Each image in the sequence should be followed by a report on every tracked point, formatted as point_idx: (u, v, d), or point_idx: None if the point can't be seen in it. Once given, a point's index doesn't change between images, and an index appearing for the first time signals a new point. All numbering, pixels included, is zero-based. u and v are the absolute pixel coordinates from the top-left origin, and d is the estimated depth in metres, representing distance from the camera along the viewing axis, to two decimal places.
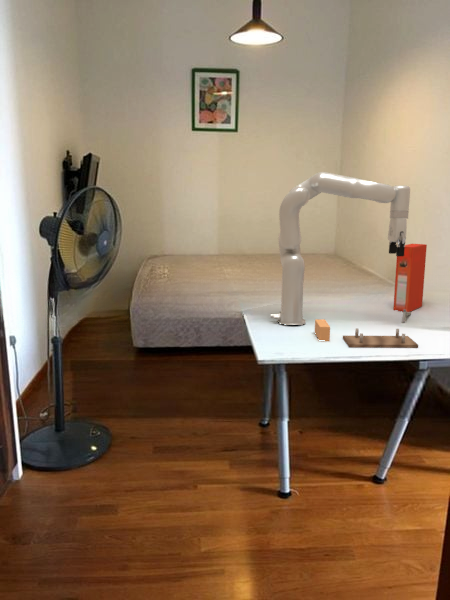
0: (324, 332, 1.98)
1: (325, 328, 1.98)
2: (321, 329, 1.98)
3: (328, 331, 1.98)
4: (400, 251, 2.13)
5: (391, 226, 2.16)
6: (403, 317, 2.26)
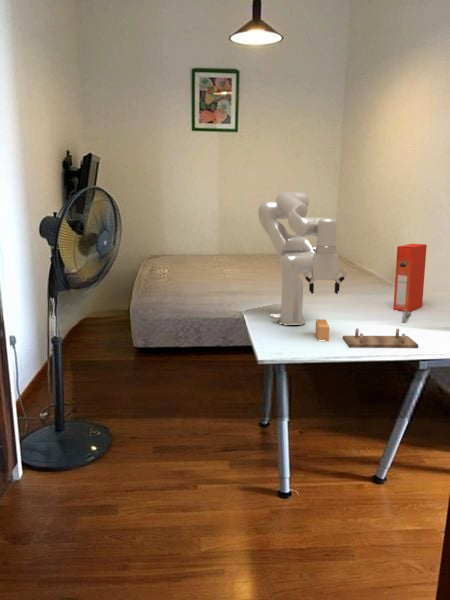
0: (323, 332, 1.98)
1: (324, 328, 1.98)
2: (320, 329, 1.98)
3: (327, 331, 1.98)
4: None
5: (325, 263, 1.96)
6: (403, 317, 2.26)
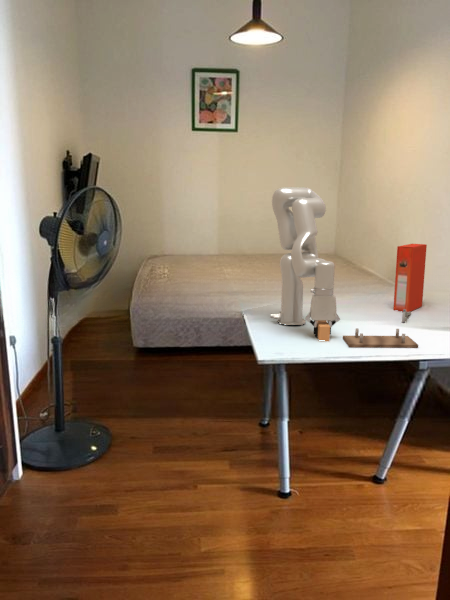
0: (324, 332, 1.98)
1: (325, 328, 1.98)
2: (321, 329, 1.98)
3: (328, 331, 1.98)
4: None
5: (323, 305, 1.99)
6: (403, 317, 2.26)
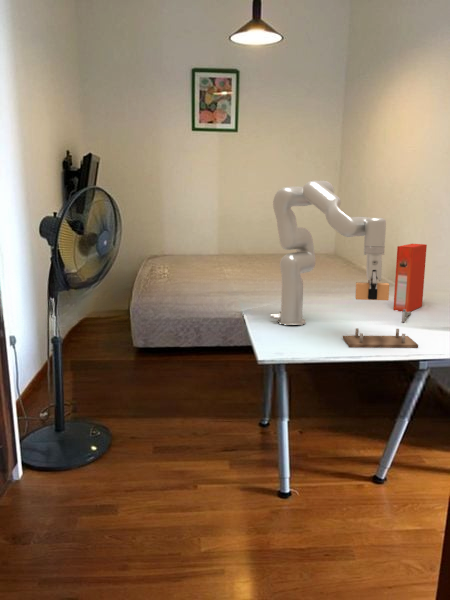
0: None
1: (388, 285, 1.92)
2: None
3: None
4: None
5: None
6: (403, 317, 2.26)
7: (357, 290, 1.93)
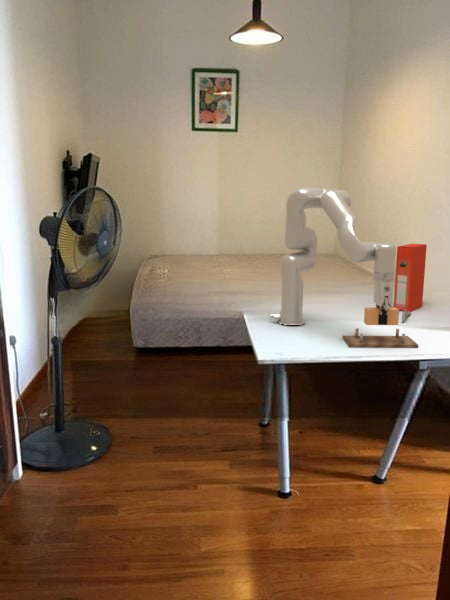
0: None
1: None
2: None
3: None
4: None
5: None
6: (403, 317, 2.26)
7: (368, 316, 1.92)
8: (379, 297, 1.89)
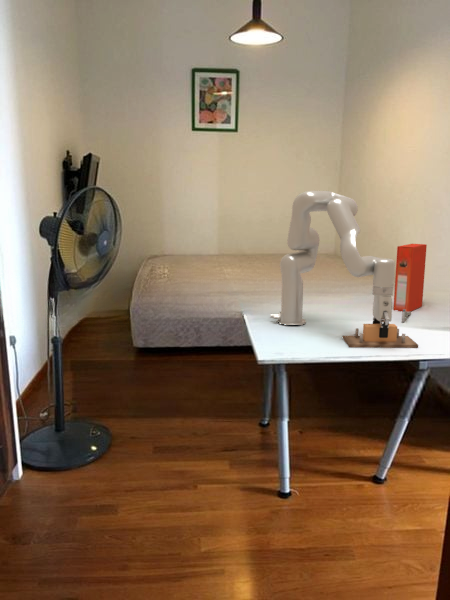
0: None
1: None
2: None
3: None
4: None
5: None
6: (402, 317, 2.26)
7: (366, 332, 1.94)
8: (378, 311, 1.90)
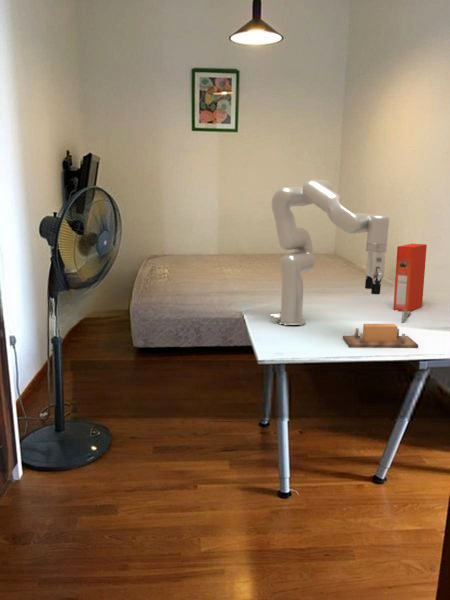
0: None
1: None
2: None
3: None
4: None
5: None
6: (402, 317, 2.26)
7: (366, 332, 1.94)
8: (371, 268, 1.91)
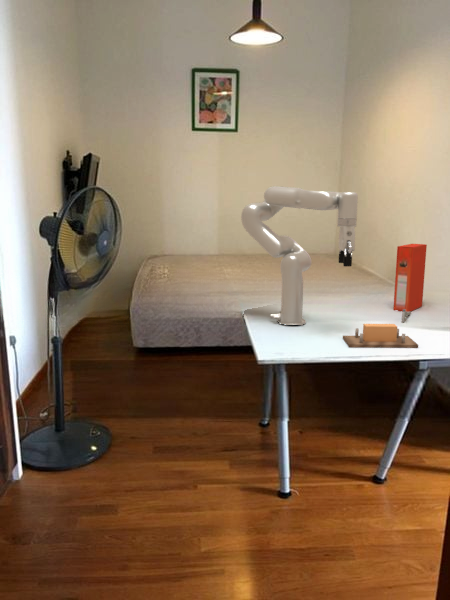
0: None
1: None
2: None
3: None
4: None
5: None
6: (402, 317, 2.26)
7: (366, 332, 1.94)
8: (342, 242, 2.03)
